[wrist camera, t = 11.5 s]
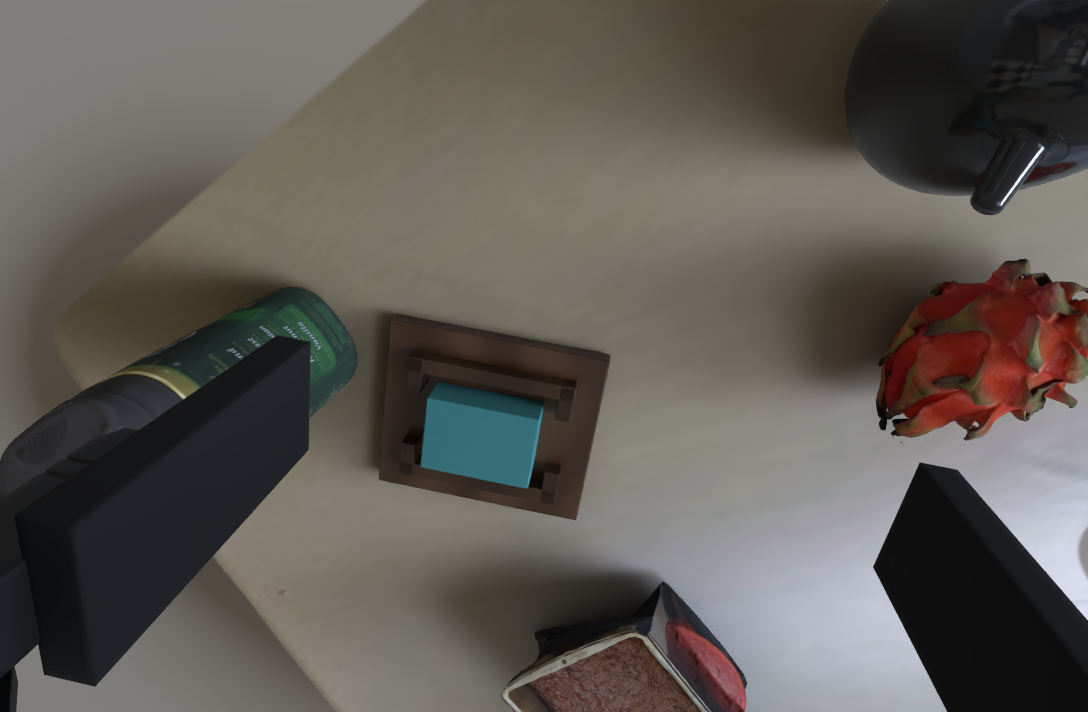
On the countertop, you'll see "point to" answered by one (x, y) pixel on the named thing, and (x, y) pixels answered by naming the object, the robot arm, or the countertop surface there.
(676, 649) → the rectangular planter
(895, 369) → the dragon fruit
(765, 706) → the countertop surface
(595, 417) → the back plate
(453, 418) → the pad
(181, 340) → the coffee jar
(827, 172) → the countertop surface
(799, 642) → the countertop surface
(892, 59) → the black rounded piece
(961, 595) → the robot arm
